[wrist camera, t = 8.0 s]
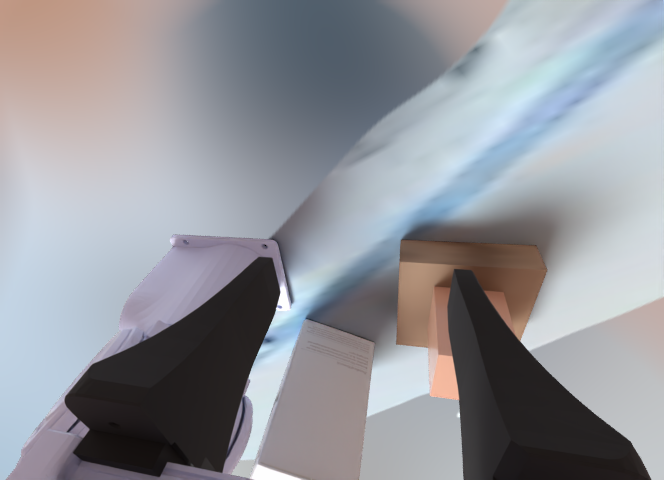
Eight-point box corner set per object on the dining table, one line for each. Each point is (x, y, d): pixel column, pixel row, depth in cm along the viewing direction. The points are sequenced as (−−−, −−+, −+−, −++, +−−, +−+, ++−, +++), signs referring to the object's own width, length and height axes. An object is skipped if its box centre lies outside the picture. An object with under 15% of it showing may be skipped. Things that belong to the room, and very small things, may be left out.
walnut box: (397, 316, 31) (396, 344, 28) (401, 235, 25) (399, 261, 23) (506, 326, 29) (514, 356, 26) (534, 241, 23) (547, 270, 21)
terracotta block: (427, 327, 26) (430, 395, 22) (433, 286, 24) (438, 354, 19) (489, 334, 25) (504, 406, 21) (503, 292, 23) (524, 364, 19)
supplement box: (304, 315, 32) (255, 463, 22) (377, 341, 33) (361, 499, 23) (288, 355, 37) (242, 492, 27) (352, 377, 37) (330, 521, 27)
